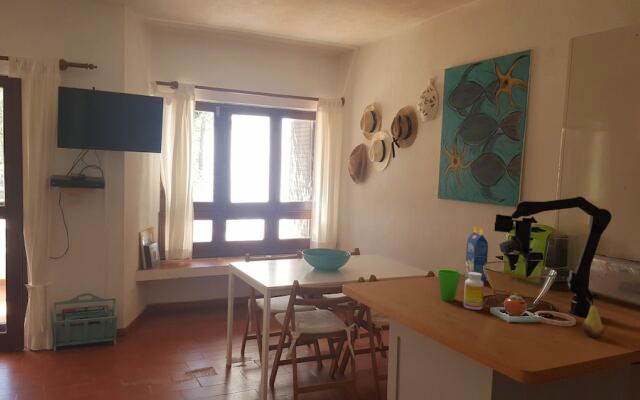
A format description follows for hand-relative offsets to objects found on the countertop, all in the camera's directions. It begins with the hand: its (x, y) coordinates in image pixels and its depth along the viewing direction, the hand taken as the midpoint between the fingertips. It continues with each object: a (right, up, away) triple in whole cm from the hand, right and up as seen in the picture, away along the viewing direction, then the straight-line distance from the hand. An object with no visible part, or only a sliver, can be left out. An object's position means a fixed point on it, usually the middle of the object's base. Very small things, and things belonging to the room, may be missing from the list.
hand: (519, 274), depth 182 cm
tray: (-8, -13, -15) cm, 21 cm away
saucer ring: (+5, -13, -17) cm, 22 cm away
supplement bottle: (-20, -12, -5) cm, 24 cm away
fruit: (+9, -15, -32) cm, 37 cm away
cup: (-26, -11, +5) cm, 29 cm away
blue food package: (-3, -10, +43) cm, 44 cm away
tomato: (-8, -12, -15) cm, 21 cm away
